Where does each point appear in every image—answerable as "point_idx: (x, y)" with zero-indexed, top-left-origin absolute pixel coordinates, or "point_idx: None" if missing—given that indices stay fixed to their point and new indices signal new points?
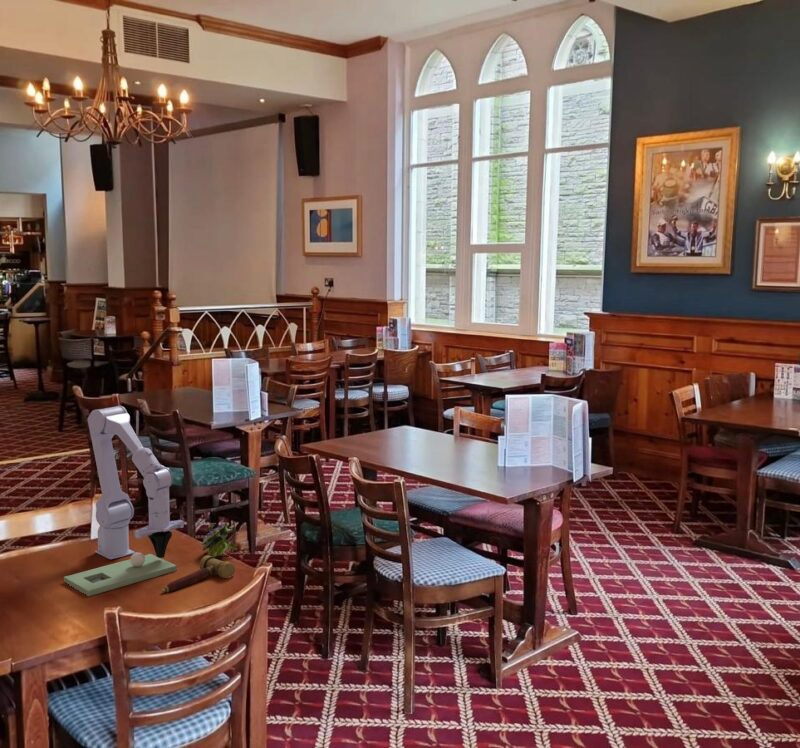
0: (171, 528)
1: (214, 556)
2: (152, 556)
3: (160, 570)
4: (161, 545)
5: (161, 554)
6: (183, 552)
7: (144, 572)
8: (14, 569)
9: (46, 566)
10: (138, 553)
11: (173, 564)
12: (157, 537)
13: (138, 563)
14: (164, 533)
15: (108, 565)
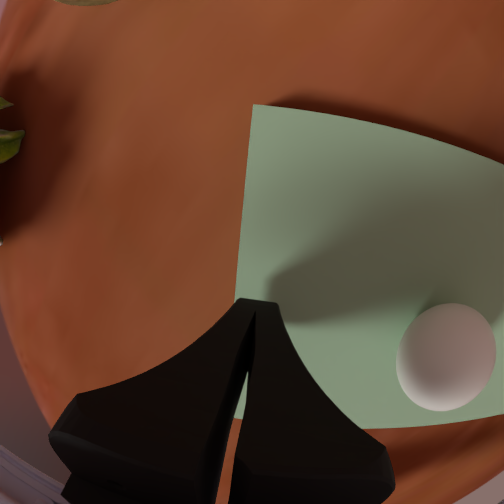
0: (33, 482)
1: (2, 101)
2: (246, 388)
3: (410, 132)
4: (269, 371)
5: (268, 313)
6: (72, 329)
7: (493, 201)
8: (472, 488)
9: (447, 485)
10: (472, 382)
11: (254, 145)
12: (383, 482)
13: (475, 311)
14: (168, 502)
15: (454, 418)
